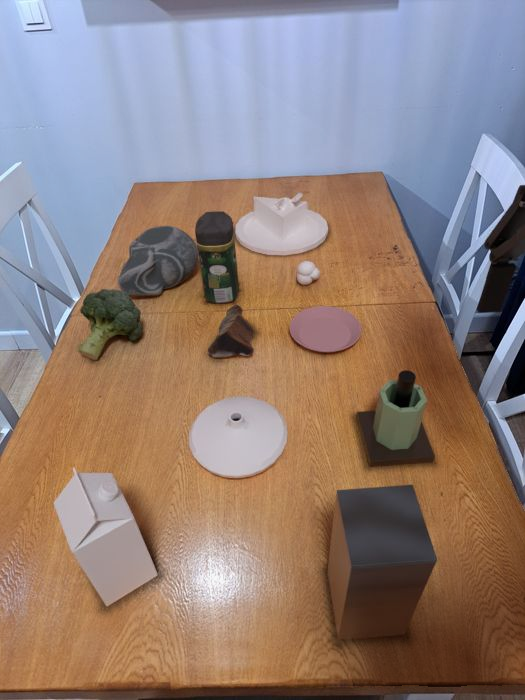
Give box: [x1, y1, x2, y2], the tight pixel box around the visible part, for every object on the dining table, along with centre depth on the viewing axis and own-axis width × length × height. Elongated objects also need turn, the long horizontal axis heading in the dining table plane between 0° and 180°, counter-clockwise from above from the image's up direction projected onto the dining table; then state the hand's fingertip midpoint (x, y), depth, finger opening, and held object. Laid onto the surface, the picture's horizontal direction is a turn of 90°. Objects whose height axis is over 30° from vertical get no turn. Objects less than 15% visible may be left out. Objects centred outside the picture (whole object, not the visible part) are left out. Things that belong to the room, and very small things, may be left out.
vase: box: [188, 395, 289, 479], centre depth 77 cm, size 16×16×7 cm
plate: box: [289, 305, 362, 353], centre depth 99 cm, size 14×14×2 cm
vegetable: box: [77, 288, 144, 361], centre depth 97 cm, size 12×13×15 cm
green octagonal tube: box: [373, 379, 428, 450], centre depth 75 cm, size 6×6×9 cm
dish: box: [234, 192, 329, 256], centre depth 128 cm, size 25×25×11 cm
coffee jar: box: [194, 210, 240, 305], centre depth 105 cm, size 10×8×19 cm
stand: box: [326, 484, 438, 640], centre depth 54 cm, size 8×8×20 cm
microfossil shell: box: [296, 260, 321, 286], centre depth 112 cm, size 4×5×6 cm
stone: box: [207, 304, 256, 359], centre depth 98 cm, size 9×6×15 cm
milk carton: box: [53, 467, 158, 607], centre depth 59 cm, size 7×7×19 cm
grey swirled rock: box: [117, 225, 199, 296], centre depth 112 cm, size 11×16×20 cm
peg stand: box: [356, 369, 436, 468], centre depth 75 cm, size 10×10×14 cm
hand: (512, 346), depth 56 cm, fingers open, 13 cm apart
